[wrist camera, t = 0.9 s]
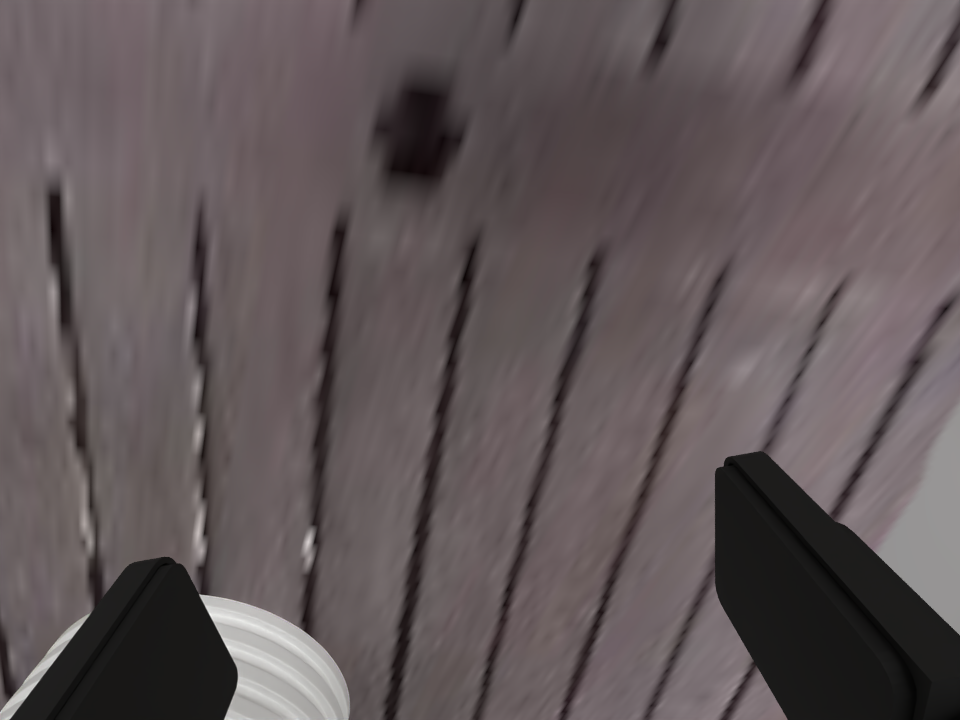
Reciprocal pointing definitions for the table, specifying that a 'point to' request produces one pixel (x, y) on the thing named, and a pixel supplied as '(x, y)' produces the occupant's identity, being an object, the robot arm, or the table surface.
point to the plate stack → (252, 667)
